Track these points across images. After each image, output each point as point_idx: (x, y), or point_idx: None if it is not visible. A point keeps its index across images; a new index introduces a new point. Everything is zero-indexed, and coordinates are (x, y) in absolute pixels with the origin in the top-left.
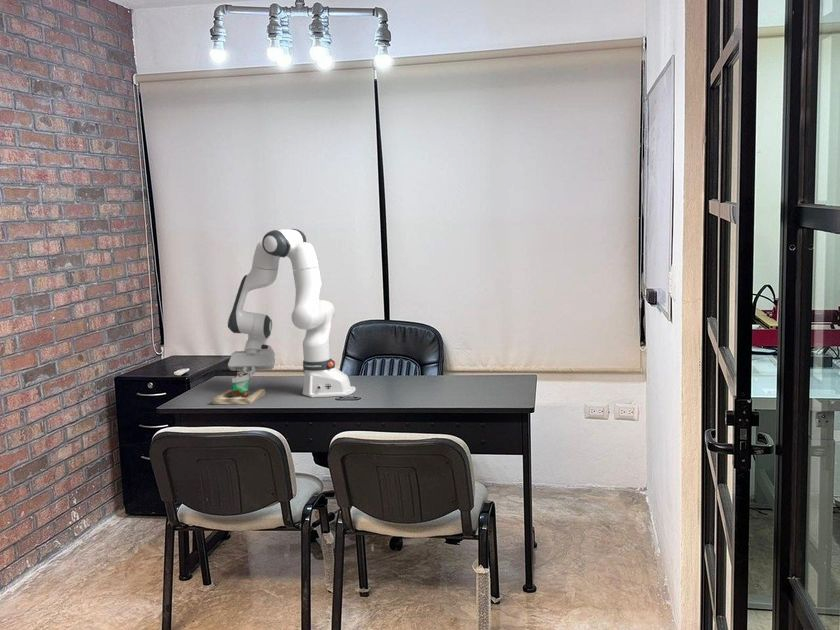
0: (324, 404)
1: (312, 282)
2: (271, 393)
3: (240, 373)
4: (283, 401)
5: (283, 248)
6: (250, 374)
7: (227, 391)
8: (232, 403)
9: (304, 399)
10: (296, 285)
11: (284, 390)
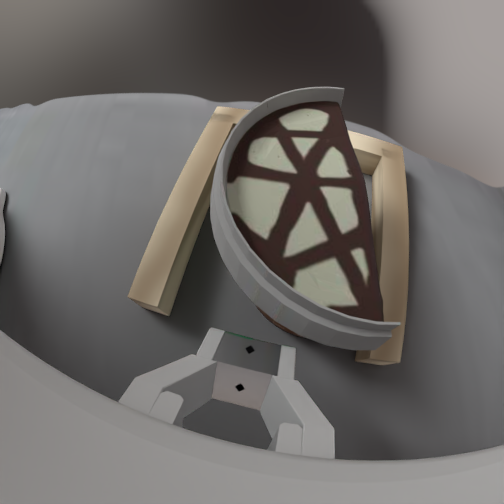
0: (20, 124)
1: None
2: (107, 334)
3: (347, 318)
4: (85, 155)
5: None
6: (210, 336)
7: (395, 295)
8: None
9: (26, 175)
10: None
11: None
